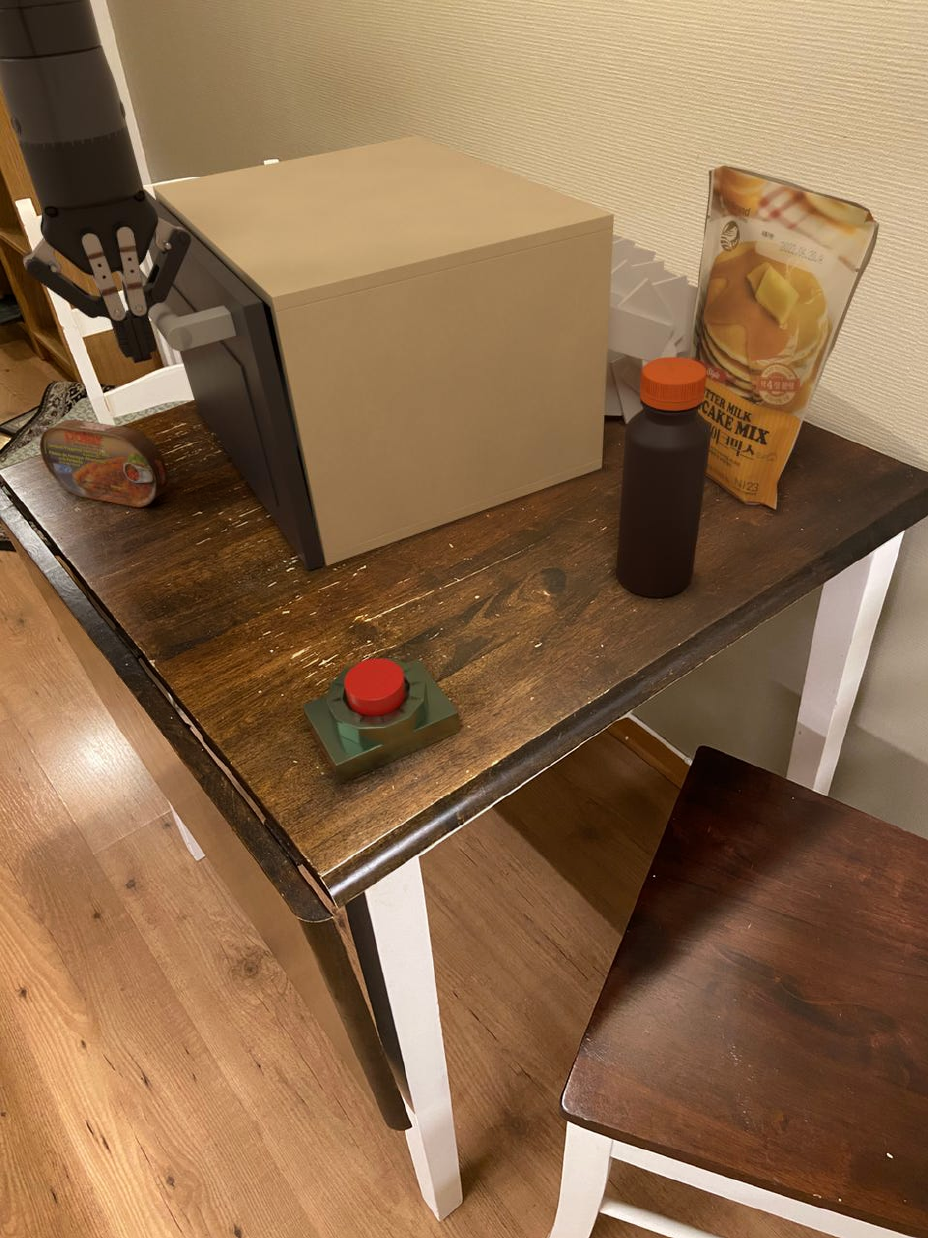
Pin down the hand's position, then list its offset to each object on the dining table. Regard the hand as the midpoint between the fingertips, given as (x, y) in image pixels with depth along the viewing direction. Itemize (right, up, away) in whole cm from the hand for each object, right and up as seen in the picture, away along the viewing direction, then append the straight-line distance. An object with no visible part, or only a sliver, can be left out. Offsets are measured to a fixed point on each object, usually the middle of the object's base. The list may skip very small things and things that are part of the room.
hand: (140, 358), depth 74 cm
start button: (+21, -27, -8) cm, 35 cm away
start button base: (+21, -30, -5) cm, 37 cm away
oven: (+18, 0, +30) cm, 35 cm away
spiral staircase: (+44, +6, +35) cm, 57 cm away
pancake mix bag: (+55, -6, +20) cm, 59 cm away
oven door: (+1, -7, +24) cm, 25 cm away
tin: (-11, -8, +23) cm, 27 cm away
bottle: (+44, -18, +7) cm, 48 cm away
